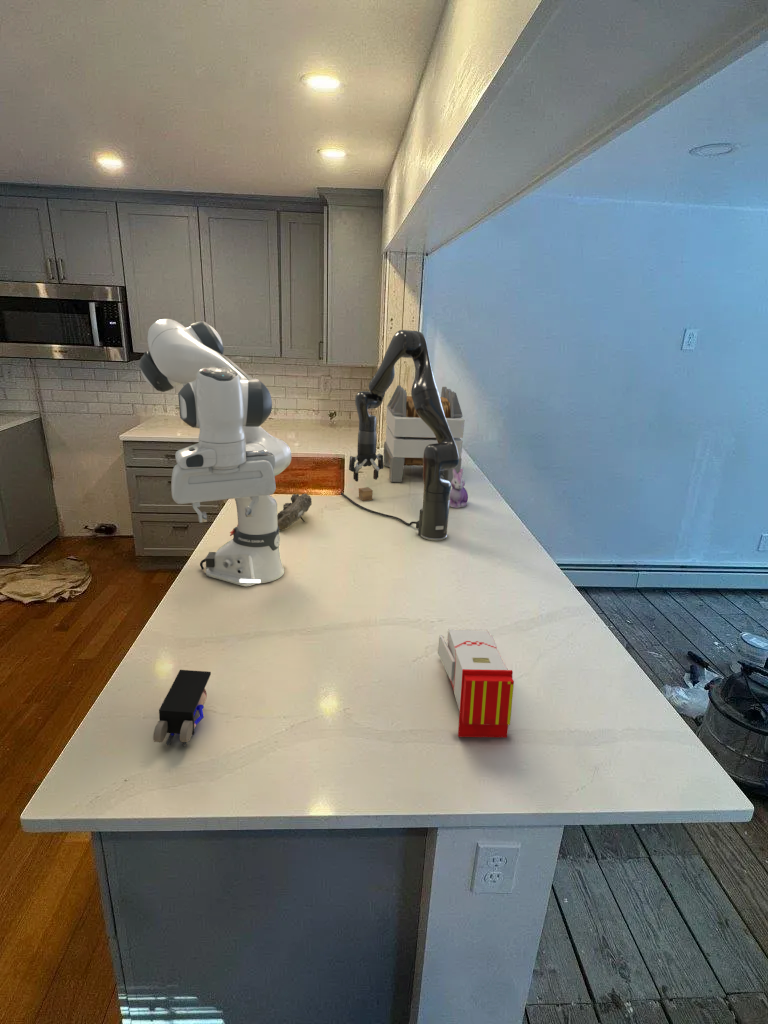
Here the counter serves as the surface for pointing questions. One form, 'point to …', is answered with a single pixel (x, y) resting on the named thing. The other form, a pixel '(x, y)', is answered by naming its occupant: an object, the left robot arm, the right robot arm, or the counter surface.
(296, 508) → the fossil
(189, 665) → the counter surface
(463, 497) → the figurine
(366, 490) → the brown wooden cube
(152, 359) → the left robot arm
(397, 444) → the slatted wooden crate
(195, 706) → the figurine character
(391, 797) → the counter surface
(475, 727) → the toy
